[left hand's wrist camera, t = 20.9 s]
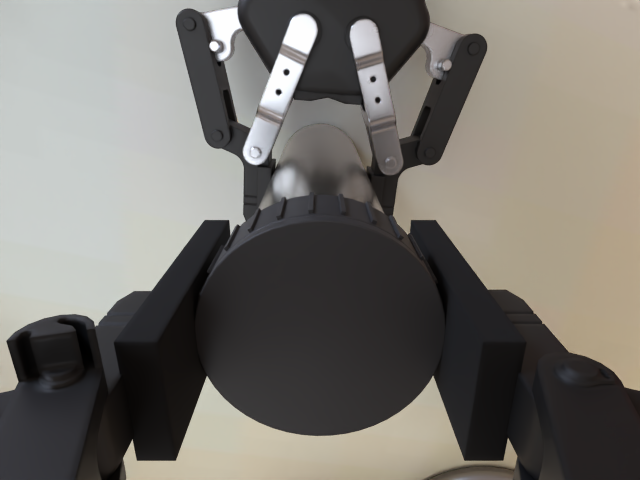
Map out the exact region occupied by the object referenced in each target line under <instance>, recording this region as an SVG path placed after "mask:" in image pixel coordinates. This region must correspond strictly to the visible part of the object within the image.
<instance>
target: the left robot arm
mask: <svg viewBox="0 0 640 480" xmlns="http://www.w3.org/2000/svg"><path fill="white" fill-rule="evenodd" d="M410 233H411V235H412V236H413V238H414V240H415V242H416V243H417V245H418V247H419V249H420V251H421V253H422V254H423V255H424V257H425V259H426V261H427V262H428V264H429V266H430V268H431V270H432V272H433V273H434V275H435V277H436V279H437V281H438V284H436V286H437V289H438V291H439V294H440V296H441V299H442V302H443V307H444V311H445V319H446V326H445V335H444V344H443V351H442V356H441V359H440V361H439V364H438V366H437V369H436V371H435V373H434V374H433V376H434V378H435V381H436V384H437V387H438V389H439V392H440V395H441V398H442V400H443V403H444V406H445V409H446V411H447V414H448V417H449V419H450V422H451V425H452V428H453V430H454V433H455V436H456V439H457V441H458V444H459V447H460V450H461V452H462V455H463V458H464V460H465V461H503V460H504V454H505V449H506V444H507V439H508V438H509V440H510V442H511V444H512V446H513V448H514V450H515V452H516V454H517V456H518V457H517V461H516V466H515V471H513V470H509V469H504V468H498V467H468V468H462V469H457V470H452V471H449V472H445V473H442V474H440V475H437V476H435V477H432V478H430V479H428V480H640V391H637V390H632V389H629V388H625V387H624V386H623V384H622V382H621V380H620V379H619V378H618V377H617V376H616V374H615V373H614V372H613V371H611V370H610V369H609V368H607V367H606V366H604V365H603V364H601V363H599V362H597V361H595V360H592V359H590V358H588V357H585V356H581V355H577V354H573V353H569V352H568V351H567V350H566V349H565V347H564V346H563V345H562V344H561V343H560V342H559V340H558V339H557V338H556V337H555V336H554V335H553V334H552V332H551V331H550V330H549V329H548V328H547V327H546V326H545V324H542V321H541V320H540V319H539V317H538V316H537V315H536V314H534V313H533V311H532V309H531V308H530V307H529V306H528V305H527V304H526V302H525V301H524V300H523V299H521V298H519V297H518V296H516V295H514V294H512V293H511V292H509V291H507V290H487V288H486V287H485V286H484V284H483V283H482V282H481V280H480V279H479V278H478V276H477V275H476V274H475V272H474V271H473V270H472V268H471V267H470V266H469V264H468V263H467V262H466V260H465V259H464V258H463V256H462V255H461V254H460V252H459V251H458V250H457V248H456V247H455V246H454V244H453V243H452V242H451V240H450V239H449V238H448V236H447V235H446V234H445V232H444V231H443V230H442V228H441V227H440V226H439V224H438V223H437V222H436V220H411V228H410ZM229 238H230V225H229V220H205V221H204V222H203V223H202V225H201V226H200V227H199V229H198V230H197V231H196V233H195V234H194V235H193V237H192V238H191V239H190V241H189V242H188V243H187V245H186V246H185V247H184V249H183V250H182V251H181V253H180V254H179V255H178V257H177V258H176V259H175V261H174V262H173V263H172V265H171V266H170V267H169V269H168V270H167V271H166V273H165V274H164V275H163V277H162V278H161V279H160V281H159V282H158V283H157V285H156V286H155V287H154V289H153V290H152V291H134V292H132V293H131V294H129V295H127V296H126V297H124V298H122V299H121V300H119V301H117V302H116V304H115V305H114V306H113V307H112V308H111V309H110V311H109V312H108V313H107V316H104V317H103V319H102V320H101V321H100V322H99V325H98V326H96V327H95V325H94V321H92V320H91V319H90V318H88V317H87V316H82V315H76V314H72V315H58V316H54V317H49V318H44V319H42V320H39V321H36V322H34V323H31V324H28V325H27V326H25V327H23V328H21V329H20V330H18V331H16V332H15V333H14V334H13V335H12V336H11V337H10V338H9V339H8V340H7V345H8V348H9V351H10V355H11V358H12V361H13V365H14V368H15V371H16V375H17V378H18V381H19V383H18V385H17V386H16V388H15V390H12V391H8V392H3V393H0V480H126V472H125V466H124V461H123V457H124V455H125V453H126V451H127V449H128V447H129V445H130V443H131V441H132V439H133V443H134V448H135V453H136V458H137V461H176V458H177V456H178V453H179V450H180V448H181V445H182V442H183V439H184V437H185V434H186V431H187V428H188V426H189V423H190V420H191V417H192V415H193V412H194V409H195V407H196V404H197V401H198V398H199V396H200V393H201V390H202V387H203V385H204V382H205V379H206V376H207V375H206V372H205V370H204V368H203V366H202V364H201V362H200V359H199V355H198V350H197V342H196V333H195V323H194V319H195V312H196V306H197V303H198V300H199V298H198V294H199V292H200V290H201V288H202V286H203V284H204V283H205V281H206V279H207V277H208V275H209V273H207V271H208V269H209V267H210V265H211V264H212V262H213V260H214V258H215V256H216V254H217V253H218V251H219V249H220V247H221V245H223V246H225V245H226V243H227V242H228V240H229Z"/></svg>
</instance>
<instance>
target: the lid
mask: <svg viewBox="0 0 640 480" xmlns="http://www.w3.org/2000/svg"><path fill="white" fill-rule="evenodd" d="M207 273H209V275H208V277H207V279H206V281H205V283H204V284H203V286H202V288H201V290H200V292H199V294H198V298H199V300H198V303H197V306H196V312H195V319H194V323H195V333H196V342H197V350H198V355H199V359H200V362H201V364H202V366H203V368H204V370H205V372H206V375H207V376H208V378H209V379H210V381H211V382H212V384H213V385H214V387H215V388H216V389H217V390H218V391H219V393H220V394H221V395H222V396H223V397H224V398H225V399H226V400H227V401H228V402H229V403H230V404H232V405H233V406H234V407H235V408H236V409H238V410H239V411H241V412H242V413H244V414H245V415H246V416H248V417H250V418H252V419H254V420H256V421H257V422H259V423H262V424H264V425H267V426H269V427H272V428H275V429H278V430H282V431H285V432H289V433H295V434H300V435H312V436H329V435H339V434H346V433H350V432H355V431H359V430H362V429H365V428H368V427H371V426H374V425H376V424H378V423H380V422H382V421H385V420H387V419H388V418H390V417H392V416H393V415H395V414H397V413H398V412H400V411H401V410H402V409H404V408H405V407H406V406H407V405H409V404H410V403H411V402H412V401H413V400H414V399H415V398H416V397H417V396H418V395H419V394H420V393H421V392H422V391H423V389H424V388H425V387H426V385H427V384H428V383H429V381H430V380H431V378H432V376H433V374H434V373H435V371H436V369H437V366H438V364H439V361H440V359H441V356H442V351H443V344H444V335H445V326H446V319H445V311H444V307H443V302H442V299H441V296H440V294H439V291H438V289H437V286H436V284H438V281H437V279H436V277H435V275H434V273H433V272H432V270H431V268H430V266H429V264H428V262H427V261H426V259H425V257H424V255H423V254H422V253H421V251H420V249H419V247H418V245H417V243H416V242H415V240H414V238H413V236H412V235H411V233H409V234H408V235H407V234H406V233H405V231H404V230H403V229H402V228H401V227H400V226H399V225H398V224H397V222H396V220H395V218H394V217H393V216H392V215H390V216H389V217H388V216H387V215H385V214H384V213H383V212H381V211H379V210H377V209H376V208H374V207H372V206H371V203H370V202H368V201H366V203H362V202H360V201H357V200H354V199H350V198H346V197H343V194H341V193H339V195H338V196H334V195H314V192H310V195H306V196H299V197H293V198H290V199H286V197H283V198H281V201H280V202H277V203H275V204H273V205H271V206H268V207H266V208H264V209H263V210H261V209H260V208H258V209H257V210H256V211H255V213H254V215H253V216H252V217H250V218H249V219H248V220H247V221H246V222H244V223H243V224H242V225H241V226H239V225H237V226H236V227H235V228H234V230H233V232H232V234H231V236H230V238H229V240H228V242H227V243H226V245H225V246H223V245H221V247H220V249H219V251H218V253H217V254H216V256H215V258H214V260H213V262H212V264H211V265H210V267H209V269H208V271H207Z"/></svg>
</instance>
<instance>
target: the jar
mask: <svg viewBox="0 0 640 480" xmlns="http://www.w3.org/2000/svg"><path fill="white" fill-rule="evenodd" d="M310 192H314V195H334V196H338V195H339V193H341V194H343V197H346V198H350V199H354V200H357V201H360V202H362V203H366V201H368V202H370V203H371V206H372V207H374V208H376V209H377V210H379V211H381V212H383V210H382V207H381V205H380V203H379V201H378V198H377V196H376V194H375V191H374V189H373V187H372V184H371V182H370V180H369V178H368V175H367V173H366V171H365V168H364V166H363V164H362V161H361V159H360V157H359V155H358V152H357V150H356V148H355V145H354V144H353V142H352V140H351V139H350V137H349V136H348V135H347V134H346V133H344V132H343V131H342V130H340V129H339V128H337V127H335V126H332V125H329V124H312V125H308V126H306V127H303V128H301V129H300V130H298V131H297V132H296V133H294V134H293V135H292V136H291V138H290V139H289V140H288V142H287V144H286V146H285V148H284V150H283V153H282V155H281V157H280V160H279V162H278V164H277V166H276V169H275V171H274V173H273V176H272V178H271V180H270V183H269V185H268V187H267V189H266V192H265V194H264V196H263V199H262V201H261V203H260V206H259V208H260V209H261V210H263V209H264V208H266V207H268V206H271V205H273V204H275V203H277V202H280V201H281V198H283V197H286V199H290V198H293V197H299V196H306V195H310ZM383 213H384V212H383Z"/></svg>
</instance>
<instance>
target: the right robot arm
mask: <svg viewBox="0 0 640 480" xmlns="http://www.w3.org/2000/svg"><path fill="white" fill-rule="evenodd" d="M176 27H177V31H178V35H179V39H180V43H181V47H182V51H183V54H184V58H185V62H186V66H187V70H188V74H189V78H190V82H191V86H192V89H193V93H194V97H195V101H196V105H197V109H198V113H199V117H200V121H201V125H202V128H203V132H204V136H205V140H206V142H207V143H208V144H209V145H210V146H211V147H213V148H218V149H219V148H222V149H224V150H226V151H229V152H231V153H233V154H235V155H237V156H238V157H239V158H240V159H241V161H242V162H243V165H244V206H243V215H244V217H245V220H246V221H247V220H248V219H249V218H250V217H252V216H253V215H254V213H255V211H256V210H257V209H258V208H259V206H260V203H261V201H262V199H263V196H264V194H265V192H266V189H267V187H268V185H269V183H270V180H271V178H272V176H273V173H274V171H275V167H276V159H272V148H273V146H274V144H275V141H276V139H277V136H278V134H279V131H280V129H281V127H282V124H283V122H284V119H285V117H286V115H287V112H288V110H289V108H290V105H291V103H292V100H293V98H294V100H306V101H312V100H317V99H322V98H331V99H334V100H336V101H339V102H342V103H345V104H356V105H360V107H361V111H362V115H363V119H364V122H365V125H366V129H367V134H368V138H369V142H370V146H371V151H372V155H373V156H372V165H371V167H369V166H367V170H366V173H367V175H368V178H369V180H370V182H371V184H372V187H373V189H374V191H375V194H376V196H377V198H378V201H379V203H380V205H381V207H382V210H383V212H384V214H385V215H387V216H388V217H389V216H390V215H392V216H393V210H394V203H395V196H396V189H397V182H398V178H399V176H400V174H401V173H402V172H403V171H404V170H406V169H407V168H410V167H414V166H417V165H421V164H425V165H433V164H435V163H437V162H438V161H439V160H440V159H441V157H442V154H443V152H444V150H445V147H446V145H447V143H448V140H449V138H450V136H451V133H452V131H453V129H454V126H455V124H456V122H457V119H458V117H459V115H460V112H461V110H462V108H463V105H464V103H465V101H466V98H467V96H468V94H469V91H470V89H471V87H472V84H473V82H474V80H475V77H476V75H477V73H478V70H479V68H480V66H481V63H482V61H483V59H484V56H485V54H486V51H487V43H486V40H485V39H484V37H483V36H481V35H479V34H466V35H463V34H460V33H457V32H455V31H452V30H449V29H447V28H444V27H441V26H439V25H436V24H433V23H431V22H430V16H429V12H428V9H427V7H426V4H425V0H239V2H238V6H235V7H229V8H224V9H219V10H213V11H208V12H203V13H201V12H198V11H196V10H193V9H184V10H182V11H181V12H180V13H179V14H178V15H177V18H176ZM243 30H244V32H245V34H246V35H247V37H248V39H249V40H250V42H251V44H252V45H253V47H254V48H255V50H256V52H257V53H258V55H259V57H260V58H261V60H262V61H263V63H264V65H265V66H266V68H267V70H268V71H269V73H270V74H271V75H270V77H269V80H268V82H267V85H266V88H265V90H264V93H263V95H262V98H261V101H260V103H259V106H258V109H257V113H256V116H255V119H254V121H253V124H252V127H251V128H248V127H246V126H244V125H242V124H240V123H238V122H237V117H236V113H235V108H234V104H233V100H232V95H231V91H230V86H229V82H228V78H227V73H226V69H225V64H224V61H227V60H229V59H230V58H231V57H232V56H233V54H234V50H235V47H234V41H235V38H236V36H237V34H238V33H239V32H241V31H243ZM420 45H421V46H422V47H423V48H424V49H425V51H426V54H427V60H426V65H425V68H426V72H427V74H428V75H429V76H430V77H432V78H433V81H432V83H431V86H430V88H429V91H428V93H427V96H426V98H425V101H424V103H423V106H422V108H421V111H420V113H419V116H418V119H417V121H416V124H415V126H414V129H413V131H412V134H411V136H410V137H406V138H403V139H399V138H398V133H397V128H396V117H395V112H394V107H393V102H392V97H391V93H390V88H389V82H390V81H391V79H392V78H393V77H394V76H395V75H396V74H397V72H398V71H399V70H400V69H401V68H402V67H403V65H404V64H405V63H406V62H407V61H408V60H409V58H410V57H411V56H412V55H413V54H414V52H415V51H416V50H417V49H418V48H419V47H420Z"/></svg>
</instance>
